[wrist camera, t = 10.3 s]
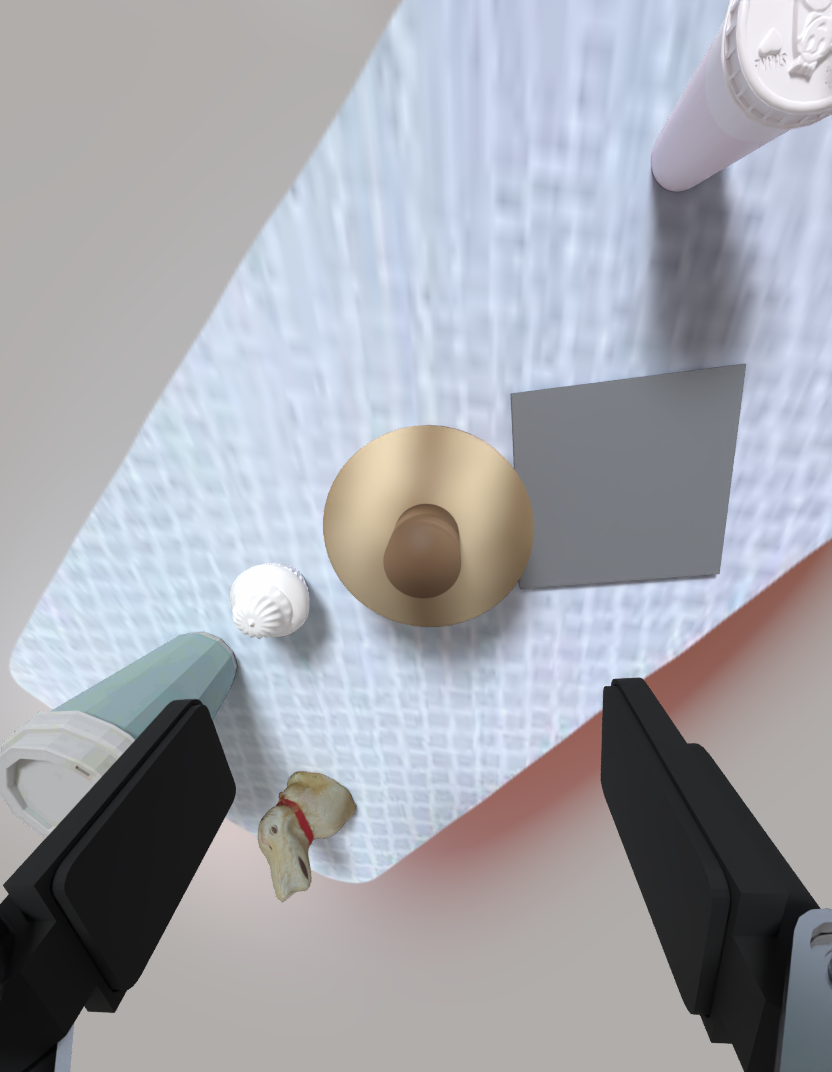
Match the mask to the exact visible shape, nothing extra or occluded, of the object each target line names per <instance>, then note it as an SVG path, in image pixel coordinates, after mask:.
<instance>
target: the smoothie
mask: <svg viewBox="0 0 832 1072" xmlns="http://www.w3.org/2000/svg"><path fill="white" fill-rule="evenodd" d="M830 115H832V0H730V2H729V6H728V9H727V13H726V17H725V20H724V22H723V24H722V25H721V27H720V29H719V31H718V33H717V35H716V36H715V38H714V40H713V42H712V43H711V45H710V47H709V49H708V50H707V52H706V54H705V55H704V57H703V59H702V61H701V62H700V64H699V66H698V68H697V69H696V71H695V73H694V74H693V76H692V78H691V80H690V81H689V83H688V85H687V87H686V88H685V90H684V92H683V94H682V95H681V97H680V99H679V100H678V102H677V104H676V106H675V107H674V109H673V111H672V113H671V114H670V116H669V118H668V119H667V121H666V123H665V125H664V126H663V128H662V130H661V132H660V133H659V135H658V137H657V139H656V141H655V143H654V146H653V150H652V156H651V167H652V172H653V175H654V177H655V179H656V181H657V182H658V183H659V184H660V185H661V186H662V187H663V188H665V189H667V190H670V191H676V192H678V191H685V190H688V189H690V188H692V187H694V186H696V185H697V184H699V183H701V182H702V181H704V180H706V179H707V178H709V177H711V176H712V175H714V174H716V173H718V172H719V171H721V170H723V169H724V168H726V167H728V166H729V165H731V164H733V163H734V162H736V161H738V160H739V159H741V158H743V157H745V156H746V155H748V154H750V153H751V152H753V151H755V150H756V149H758V148H760V147H761V146H763V145H765V144H766V143H768V142H770V141H772V140H773V139H775V138H777V137H778V136H780V135H782V134H784V133H786V132H787V131H789V130H791V129H795V128H799V127H804V126H809V125H812V124H814V123H816V122H818V121H820V120H822V119H824V118H826V117H828V116H830Z"/></svg>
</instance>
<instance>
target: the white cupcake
mask: <svg viewBox="0 0 832 1072" xmlns="http://www.w3.org/2000/svg"><path fill="white" fill-rule="evenodd" d="M309 596H310V595H309V592H308V587H307V584H306V582H305V579H304V577H303V576H302V575H301V573H300V572H299V571H298V570H296V568H293V567H292V566H289V565H284V564H277V563H272V564H270V563H266V564H262V565H257V566H254V567H251V568H249V569H247V570H246V571H244V572H243V573H241V574H240V575H239V576H238V577H237V578H236V580H235V581H234V583H233V585H232V588H231V593H230V602H231V607H232V610H233V621H234V623H236V627H237V629H239V630H242V633H243V634H248V635H249V636H250V638H252V637H254V636H256V637H257V638H258V639H261V638H262V637H263V636H264V637H282V636H286V635H289V634H291V633H293V632H295V631H296V630H297V629H299V628H300V627H301V626H302V625H303V624H304V622H305V621H306V619H307V617H308V614H309V602H310V600H309Z"/></svg>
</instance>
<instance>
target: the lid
mask: <svg viewBox="0 0 832 1072" xmlns="http://www.w3.org/2000/svg"><path fill="white" fill-rule="evenodd" d="M323 534H324V541H325V546H326V550H327V553H328V557H329V559H330V562H331V564H332V566H333V569H334V571H335V572H336V574H337V576H338V577H339V579H340V581H341V582H342V583H343V584H344V586H345V587H346V588H347V590H348V591H349V592H350V593H351V594H352V595H353V596H354V597H355V598H356V599H357V600H359V601H360V602H361V603H362V604H364V605H365V606H366V607H368V608H369V609H371V610H372V611H374V612H376V613H377V614H379V615H381V616H384V617H386V618H388V619H390V620H393V621H396V622H399V623H403V624H408V625H412V626H421V627H440V626H448V625H453V624H457V623H461V622H465V621H467V620H470V619H472V618H475V617H477V616H479V615H481V614H483V613H485V612H487V611H488V610H489V609H491V608H492V607H494V606H495V605H497V604H498V603H499V602H500V601H501V600H502V599H503V598H504V597H506V596H507V595H508V593H509V592H510V591H511V590H512V589H513V588H514V586H515V585H516V583H517V582H518V580H519V579H520V577H521V576H522V574H523V572H524V570H525V568H526V566H527V564H528V561H529V557H530V554H531V551H532V546H533V540H534V518H533V510H532V506H531V502H530V498H529V496H528V493H527V491H526V488H525V486H524V484H523V482H522V481H521V479H520V477H519V476H518V474H517V472H516V471H515V470H514V468H513V467H512V466H511V465H510V463H509V462H508V461H507V460H506V459H505V458H504V457H503V456H502V455H501V454H500V453H499V452H498V451H497V450H496V449H494V448H493V447H492V446H490V445H489V444H487V443H486V442H485V441H483V440H481V439H479V438H477V437H475V436H474V435H472V434H469V433H467V432H464V431H461V430H458V429H454V428H449V427H445V426H435V425H421V426H411V427H406V428H401V429H398V430H395V431H392V432H389V433H386V434H385V435H383V436H381V437H379V438H377V439H375V440H373V441H371V442H370V443H368V444H367V445H366V446H364V447H363V448H361V449H360V450H359V451H358V452H356V453H355V454H354V455H353V456H352V457H351V458H350V459H349V460H348V461H347V463H346V464H345V465H344V466H343V468H342V469H341V470H340V472H339V473H338V475H337V477H336V478H335V480H334V482H333V484H332V486H331V489H330V491H329V493H328V497H327V500H326V504H325V509H324V517H323Z"/></svg>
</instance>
